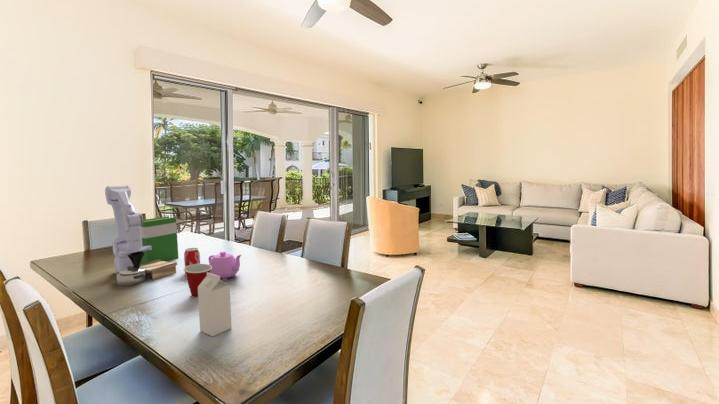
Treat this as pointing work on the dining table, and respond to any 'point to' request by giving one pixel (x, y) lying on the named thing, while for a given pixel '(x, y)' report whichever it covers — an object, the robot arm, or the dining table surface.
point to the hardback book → (159, 239)
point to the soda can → (191, 256)
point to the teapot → (224, 265)
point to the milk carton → (214, 305)
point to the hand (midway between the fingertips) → (136, 268)
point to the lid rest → (159, 268)
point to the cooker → (130, 279)
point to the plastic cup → (196, 276)
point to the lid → (132, 270)
